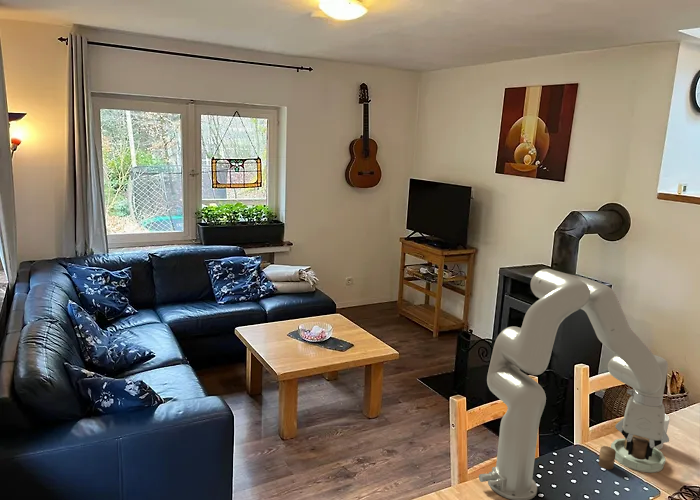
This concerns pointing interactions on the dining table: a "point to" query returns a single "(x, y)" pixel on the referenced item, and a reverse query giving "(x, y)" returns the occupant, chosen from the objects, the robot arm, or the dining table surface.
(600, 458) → the bead
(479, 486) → the dining table surface
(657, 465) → the tray
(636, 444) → the bead
